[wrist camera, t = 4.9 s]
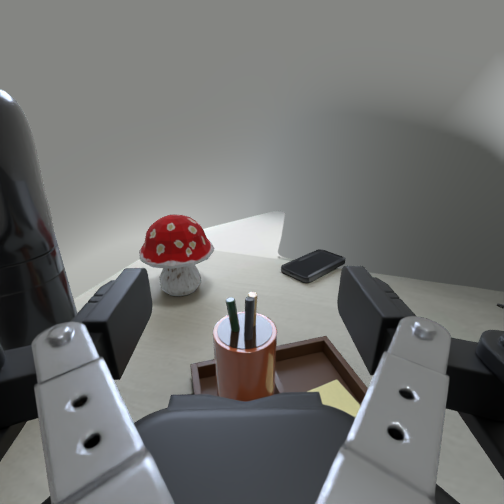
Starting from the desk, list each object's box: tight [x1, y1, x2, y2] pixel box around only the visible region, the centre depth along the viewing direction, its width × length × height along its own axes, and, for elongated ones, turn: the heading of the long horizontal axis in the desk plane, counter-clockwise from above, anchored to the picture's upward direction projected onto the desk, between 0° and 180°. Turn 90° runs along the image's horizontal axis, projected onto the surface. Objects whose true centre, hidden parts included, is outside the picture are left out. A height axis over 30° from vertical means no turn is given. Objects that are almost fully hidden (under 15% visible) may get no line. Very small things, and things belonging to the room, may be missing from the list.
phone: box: [281, 250, 345, 283], centre depth 67 cm, size 8×1×15 cm
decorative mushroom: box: [139, 214, 214, 296], centre depth 56 cm, size 14×14×15 cm
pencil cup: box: [213, 292, 277, 402], centre depth 28 cm, size 6×6×16 cm
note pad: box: [307, 380, 360, 418], centre depth 32 cm, size 6×6×2 cm
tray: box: [191, 336, 368, 406], centre depth 33 cm, size 19×17×2 cm
